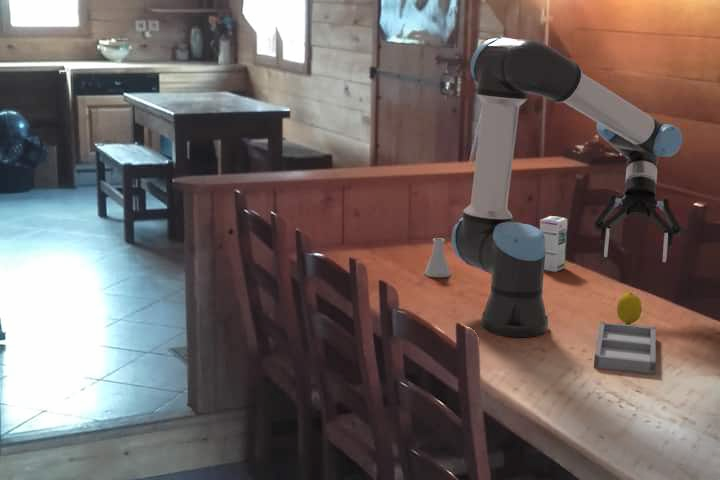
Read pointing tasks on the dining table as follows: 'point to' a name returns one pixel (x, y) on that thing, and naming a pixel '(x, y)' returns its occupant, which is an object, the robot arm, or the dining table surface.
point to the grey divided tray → (626, 348)
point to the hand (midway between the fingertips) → (634, 256)
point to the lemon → (629, 308)
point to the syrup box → (554, 242)
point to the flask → (437, 261)
